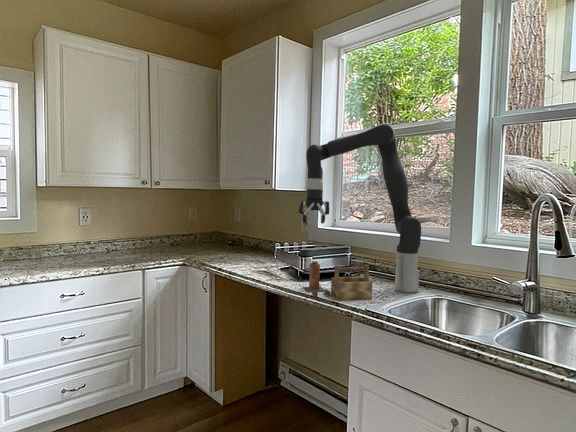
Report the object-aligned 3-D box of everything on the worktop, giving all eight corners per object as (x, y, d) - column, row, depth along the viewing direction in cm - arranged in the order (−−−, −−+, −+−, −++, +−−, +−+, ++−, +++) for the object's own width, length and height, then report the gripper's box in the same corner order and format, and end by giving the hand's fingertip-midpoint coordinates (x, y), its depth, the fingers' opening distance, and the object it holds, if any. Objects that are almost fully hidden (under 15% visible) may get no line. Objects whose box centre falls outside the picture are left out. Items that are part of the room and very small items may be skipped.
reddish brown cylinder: (316, 287, 177) (317, 260, 176) (319, 289, 173) (320, 262, 173) (309, 287, 176) (309, 260, 175) (311, 289, 173) (312, 262, 172)
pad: (319, 287, 179) (319, 286, 179) (325, 291, 172) (325, 290, 172) (302, 287, 178) (302, 286, 178) (307, 292, 170) (307, 291, 170)
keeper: (327, 294, 168) (327, 289, 168) (330, 296, 164) (330, 291, 164) (311, 294, 166) (312, 289, 166) (314, 297, 162) (314, 292, 162)
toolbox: (361, 292, 171) (362, 262, 170) (371, 298, 162) (373, 267, 161) (330, 293, 168) (331, 263, 167) (339, 300, 158) (340, 267, 158)
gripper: (302, 188, 180) (301, 223, 181) (331, 189, 183) (330, 224, 184) (297, 188, 187) (296, 222, 188) (326, 189, 191) (325, 222, 192)
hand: (313, 223), depth 186 cm, fingers open, 8 cm apart
